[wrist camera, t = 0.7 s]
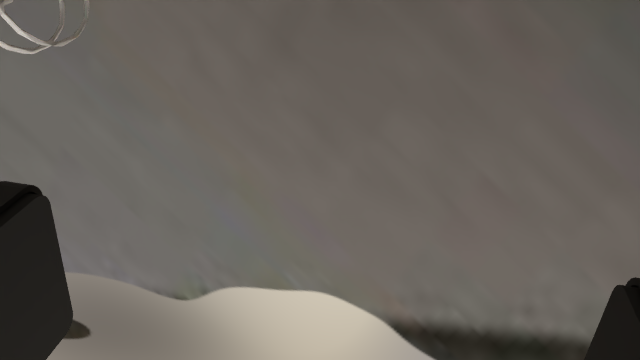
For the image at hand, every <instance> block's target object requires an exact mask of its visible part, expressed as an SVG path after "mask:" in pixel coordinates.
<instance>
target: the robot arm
mask: <svg viewBox="0 0 640 360" xmlns="http://www.w3.org/2000/svg"><path fill="white" fill-rule="evenodd" d="M72 319H73V311H72V306H71V301H70V296H69V291H68V287H67V282H66V277H65V272H64V267H63V263H62V258H61V253H60V248H59V243H58V239H57V234H56V229H55V224H54V219H53V215H52V210H51V205H50V202H49V200H48V198H47V197H46V196H43V195H42V192H41V191H40V189H39V188H38V187H36V186H34V185H27V184H20V183H14V182H7V181H0V360H46V359H47V358H48V356H49V355H50V354H51V353H52V351H53V350H54V349H55V347H56V346H57V345H58V344H59V342H60V341H61V340H62V339H63V337H64V336H65V335H66V333H67V332H68V330H69V328H70V326H71V323H72ZM584 360H640V278H631V279H630V280H629V281H628V282H627V284H626V286H624V285H617V286H616V287H615V288H614V290H613V291H612V294H611V296H610V299H609V301H608V303H607V306H606V308H605V311H604V313H603V315H602V318H601V320H600V323H599V325H598V328H597V330H596V332H595V335H594V337H593V340H592V342H591V344H590V347H589V349H588V352H587V354H586V357H585V359H584Z"/></svg>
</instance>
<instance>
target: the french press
mask: <svg viewBox="0 0 640 360" xmlns="http://www.w3.org/2000/svg"><path fill="white" fill-rule="evenodd" d="M11 2H13V0H0V15H1V16H2V17H3V18H4V19H5V20H6V21H7V22H8V23H9V25H10V26H11V27H12V28H13V29H14V30H15V31H16V32H17V33H18V34H20V35H22V36H24V37H26V38H28V39H29V40H31V41H33V42H35V43H37V44H40V46H38V47H36V48H20V47H16V46H12V45H8V44H6V43H5V42H3V41H1V40H0V46H1V47H3V48H5V49H7V50H10V51H14V52H19V53H24V54H34V53H36V52H39V51H41V50H43V49H46V48H48V47H50V46H60V47H63V46H64V45H66V44H68V43H69V42H71V41H72V40H74V39H76V38H77V37H78V36H79V35H80V34H81V33H82V31H83V29H84V27H85V25H86V23H87V21H88V14H89V0H84V19H83V21H82V23H81V26H80V28H79V29H78V30H77V31H76V32H75V33H74V34H73V35H72V36H71V37H69V38H66V39H64V40H61V41H59V42H54V41H55V40H56V39H57V37H58V36H59V34H60V32H61V30H62V29H63V27H64V18H65V5H64V0H59V4H60V23H59V26H58V28H57V30H56V32H55V34H54V35H53V36H52V37H51V38H50V40H49V41H42V40H39V39H38V38H36V37H34V36H32V35H31V34H29V33H27V32H25V31H24V30H22V29H20V28H19V27H18V26H17V25H16V24H15V23H14V21H13V20H12V19H11V18H10V17H9V16H8V14H7V13H6V12H5V9H4V5H7V4H9V3H11Z"/></svg>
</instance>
